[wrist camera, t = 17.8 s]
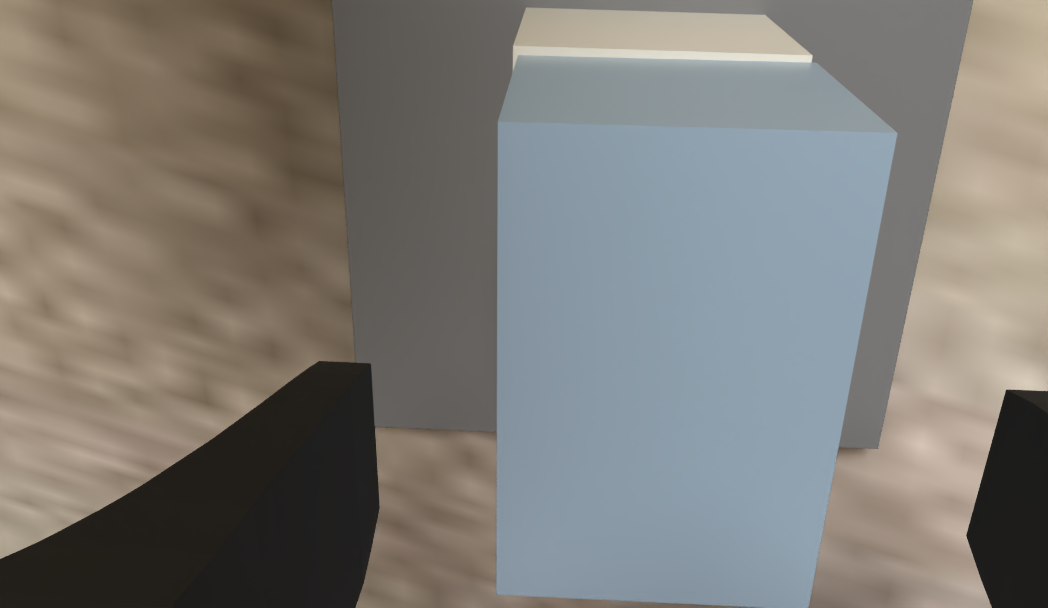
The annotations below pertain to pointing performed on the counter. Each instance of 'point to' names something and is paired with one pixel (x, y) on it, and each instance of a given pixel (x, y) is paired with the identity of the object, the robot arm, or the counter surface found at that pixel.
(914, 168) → the baseplate
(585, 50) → the cream brick
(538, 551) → the blue brick
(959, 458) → the counter surface
